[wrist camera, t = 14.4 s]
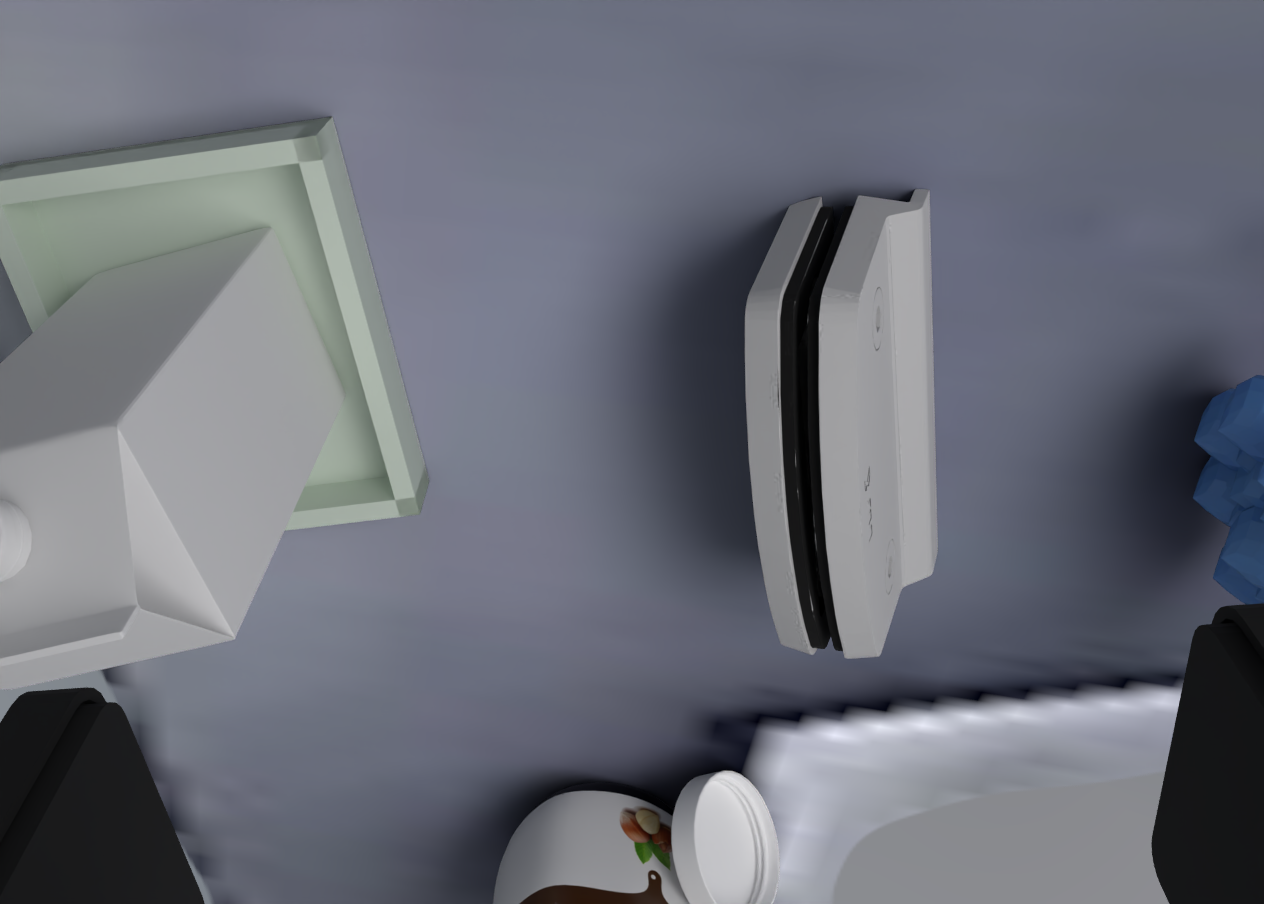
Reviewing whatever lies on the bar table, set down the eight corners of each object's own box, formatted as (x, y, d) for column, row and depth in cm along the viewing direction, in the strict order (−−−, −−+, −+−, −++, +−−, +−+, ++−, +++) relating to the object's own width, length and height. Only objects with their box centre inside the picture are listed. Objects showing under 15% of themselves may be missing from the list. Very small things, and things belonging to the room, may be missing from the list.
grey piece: (938, 558, 50) (901, 720, 42) (828, 549, 52) (773, 703, 44) (929, 178, 42) (882, 292, 34) (798, 182, 44) (725, 293, 36)
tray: (3, 163, 42) (-31, 185, 39) (332, 116, 41) (315, 135, 39) (148, 515, 49) (126, 549, 47) (429, 481, 48) (420, 514, 46)
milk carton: (349, 393, 46) (190, 744, 29) (181, 435, 46) (-65, 798, 30) (274, 222, 42) (45, 511, 26) (94, 271, 43) (-237, 580, 27)
